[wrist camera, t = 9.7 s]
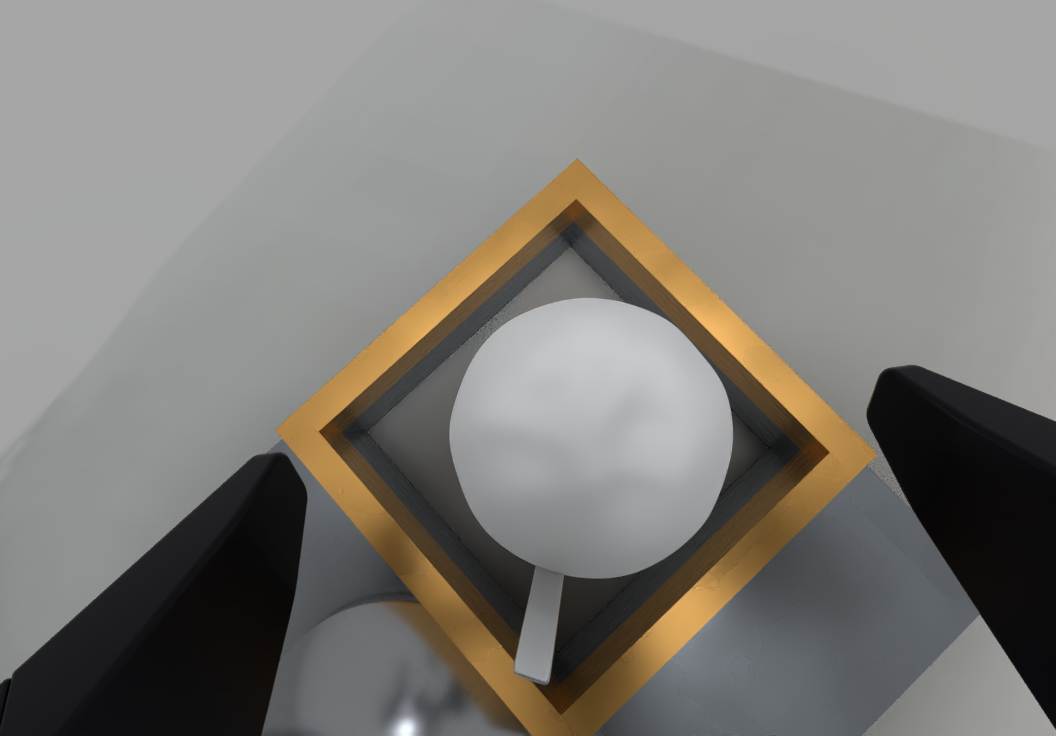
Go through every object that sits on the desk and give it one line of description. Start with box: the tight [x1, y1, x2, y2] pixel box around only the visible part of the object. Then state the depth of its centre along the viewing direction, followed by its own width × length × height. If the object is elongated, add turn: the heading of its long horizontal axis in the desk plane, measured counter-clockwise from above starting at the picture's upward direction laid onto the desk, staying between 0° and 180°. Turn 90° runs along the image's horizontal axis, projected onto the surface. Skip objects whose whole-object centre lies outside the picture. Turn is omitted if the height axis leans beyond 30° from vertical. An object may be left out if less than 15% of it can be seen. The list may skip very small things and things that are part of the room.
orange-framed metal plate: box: [262, 158, 980, 736], centre depth 14 cm, size 18×16×4 cm
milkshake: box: [449, 298, 733, 685], centre depth 12 cm, size 4×5×10 cm
